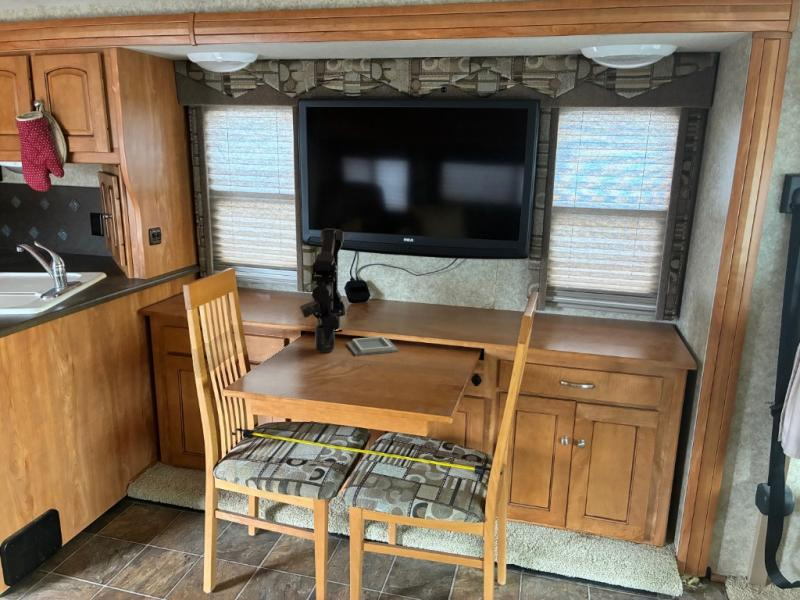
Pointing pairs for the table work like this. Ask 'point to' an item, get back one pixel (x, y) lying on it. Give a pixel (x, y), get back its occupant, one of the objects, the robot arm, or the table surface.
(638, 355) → the table surface
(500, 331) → the table surface
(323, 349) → the supplement bottle
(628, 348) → the table surface
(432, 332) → the table surface
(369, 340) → the coaster tray
